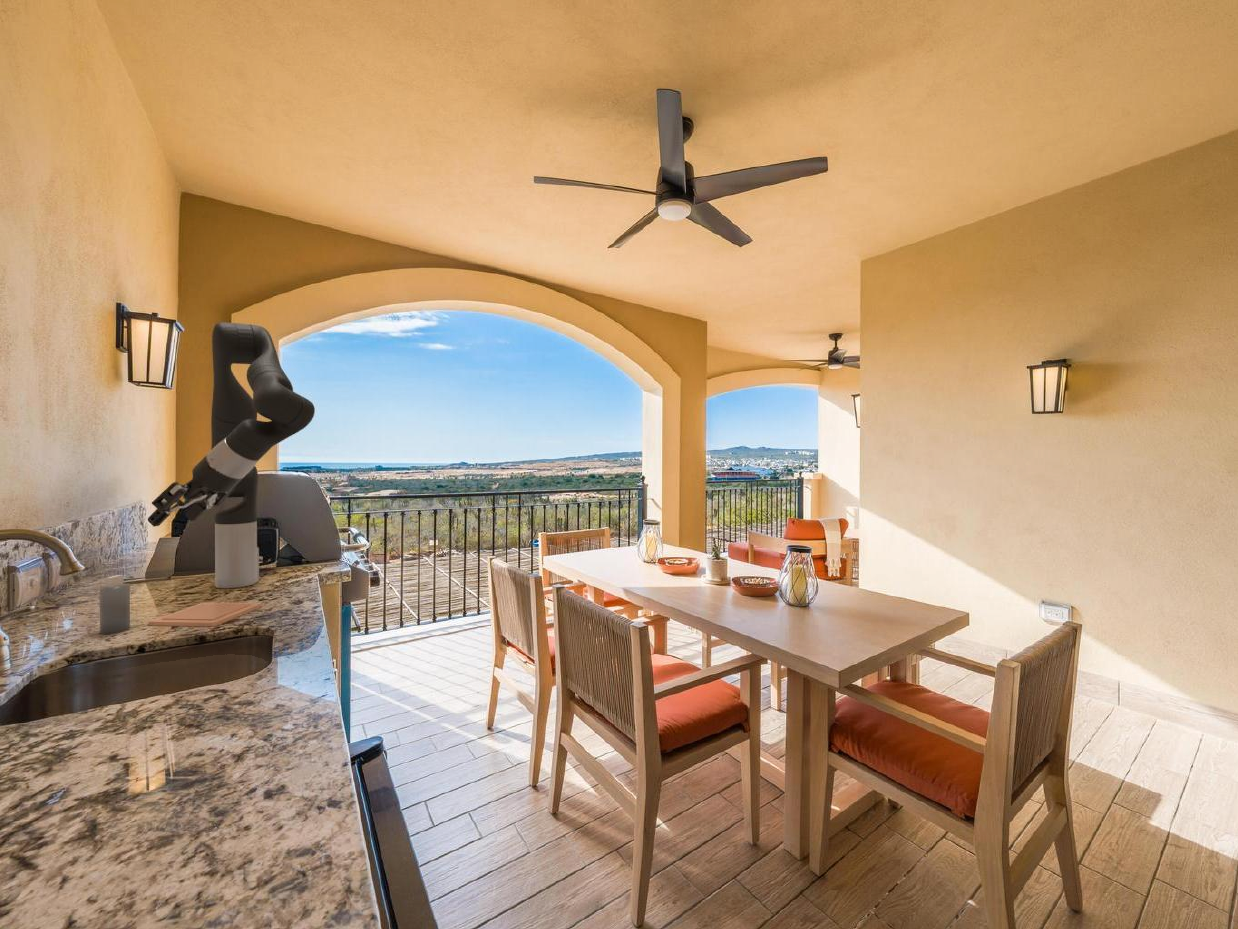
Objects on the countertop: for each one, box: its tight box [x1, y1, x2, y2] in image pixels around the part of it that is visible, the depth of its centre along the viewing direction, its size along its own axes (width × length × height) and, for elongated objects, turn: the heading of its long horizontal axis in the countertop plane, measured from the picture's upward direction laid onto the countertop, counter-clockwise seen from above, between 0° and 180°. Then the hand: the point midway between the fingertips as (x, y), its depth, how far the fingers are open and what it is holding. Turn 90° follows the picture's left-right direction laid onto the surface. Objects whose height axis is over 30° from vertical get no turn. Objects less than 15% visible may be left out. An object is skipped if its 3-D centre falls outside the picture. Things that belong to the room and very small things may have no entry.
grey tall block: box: [99, 574, 131, 635], centre depth 105 cm, size 4×4×11 cm
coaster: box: [147, 601, 263, 627], centre depth 115 cm, size 14×14×1 cm
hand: (171, 520), depth 105 cm, fingers open, 8 cm apart
